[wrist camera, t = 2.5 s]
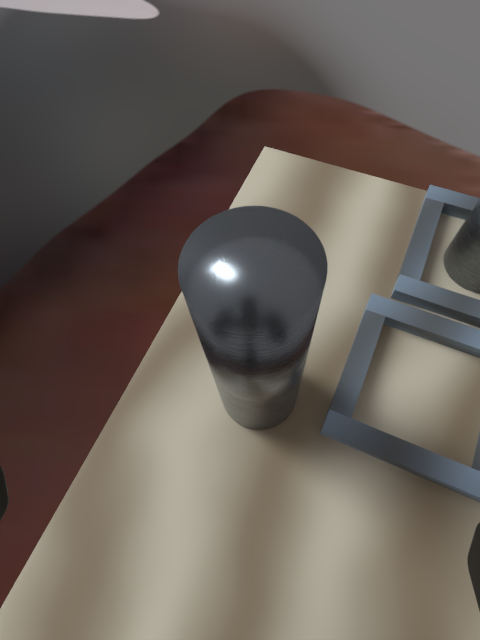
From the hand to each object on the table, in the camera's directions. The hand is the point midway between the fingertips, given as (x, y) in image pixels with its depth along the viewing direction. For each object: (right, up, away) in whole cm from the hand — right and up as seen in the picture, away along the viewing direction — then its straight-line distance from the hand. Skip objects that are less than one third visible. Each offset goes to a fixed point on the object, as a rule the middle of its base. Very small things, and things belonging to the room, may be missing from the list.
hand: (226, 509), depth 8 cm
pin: (+1, 0, +12) cm, 12 cm away
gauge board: (+4, -1, +13) cm, 13 cm away
